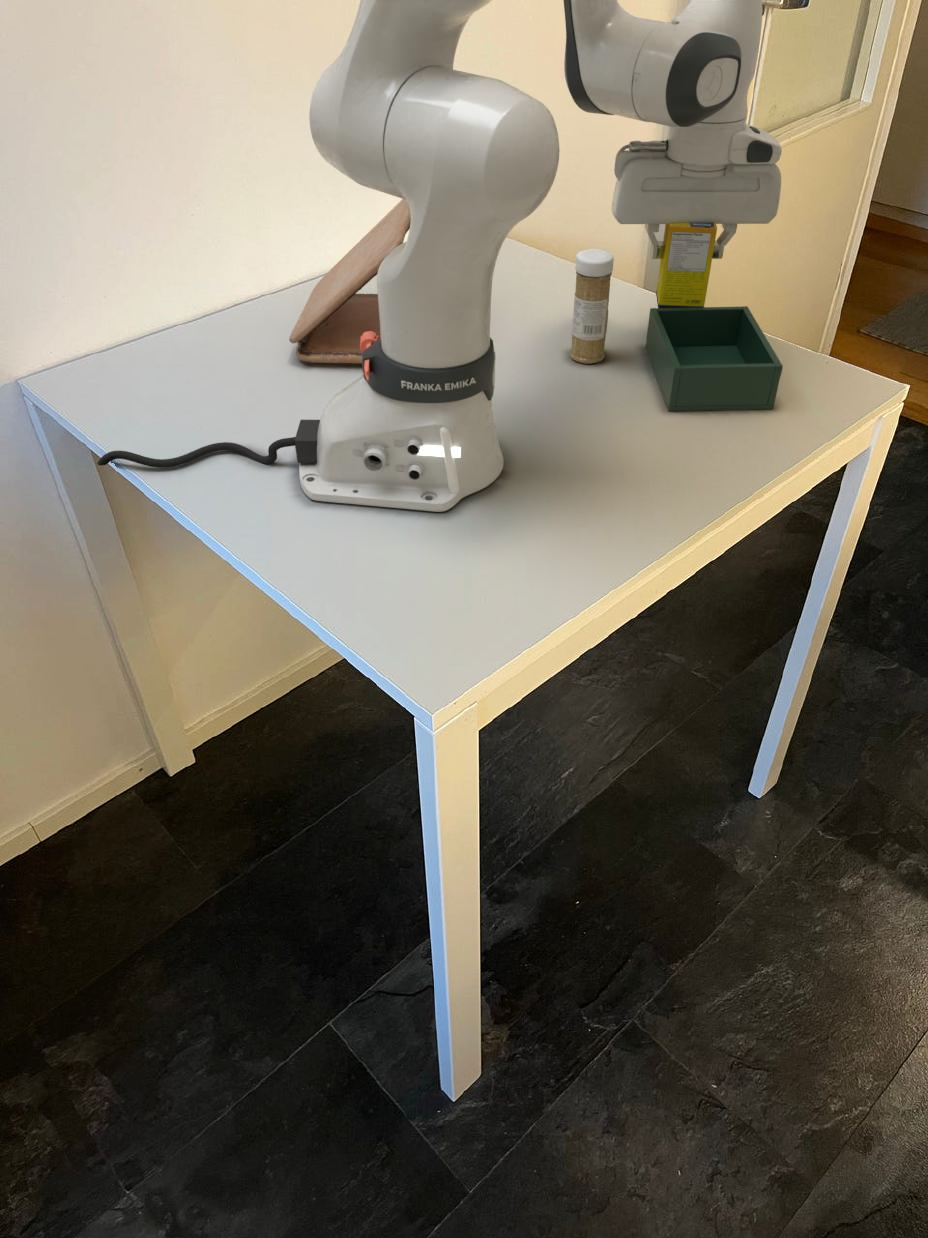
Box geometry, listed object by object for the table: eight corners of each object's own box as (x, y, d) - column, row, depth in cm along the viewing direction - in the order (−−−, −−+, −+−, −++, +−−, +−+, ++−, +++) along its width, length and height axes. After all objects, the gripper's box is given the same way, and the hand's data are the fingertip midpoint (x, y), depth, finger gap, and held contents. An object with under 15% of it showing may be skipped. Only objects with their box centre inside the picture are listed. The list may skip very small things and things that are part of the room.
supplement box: (699, 295, 129) (713, 210, 122) (703, 313, 124) (718, 226, 117) (654, 293, 129) (666, 208, 122) (657, 311, 125) (669, 224, 118)
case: (318, 301, 139) (305, 185, 129) (462, 304, 138) (460, 188, 127) (286, 366, 124) (268, 241, 113) (448, 371, 123) (445, 245, 112)
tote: (668, 411, 115) (674, 368, 111) (645, 348, 127) (650, 307, 123) (773, 409, 115) (782, 365, 111) (739, 346, 127) (747, 305, 123)
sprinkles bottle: (606, 350, 126) (616, 248, 118) (601, 366, 123) (611, 262, 114) (572, 347, 127) (579, 245, 118) (566, 363, 124) (573, 259, 115)
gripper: (621, 148, 111) (608, 266, 120) (795, 147, 112) (770, 266, 121) (613, 133, 116) (602, 248, 125) (780, 133, 116) (757, 248, 125)
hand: (686, 257), depth 123 cm, fingers closed on supplement box, 6 cm apart
